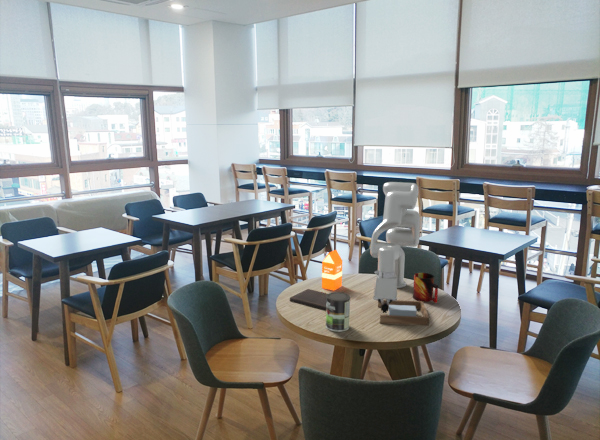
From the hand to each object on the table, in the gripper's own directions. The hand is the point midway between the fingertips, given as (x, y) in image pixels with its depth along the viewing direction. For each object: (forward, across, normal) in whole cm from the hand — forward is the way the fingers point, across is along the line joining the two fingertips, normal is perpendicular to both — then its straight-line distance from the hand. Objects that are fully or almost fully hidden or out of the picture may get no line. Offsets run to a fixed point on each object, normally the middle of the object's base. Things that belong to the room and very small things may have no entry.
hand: (384, 311), depth 216 cm
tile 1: (+2, +5, 0) cm, 5 cm away
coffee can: (+2, -21, -16) cm, 26 cm away
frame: (+1, +8, 0) cm, 8 cm away
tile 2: (+2, +11, 0) cm, 11 cm away
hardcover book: (+2, -32, +13) cm, 34 cm away
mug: (+2, +22, +22) cm, 32 cm away
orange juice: (+2, -26, +35) cm, 44 cm away
